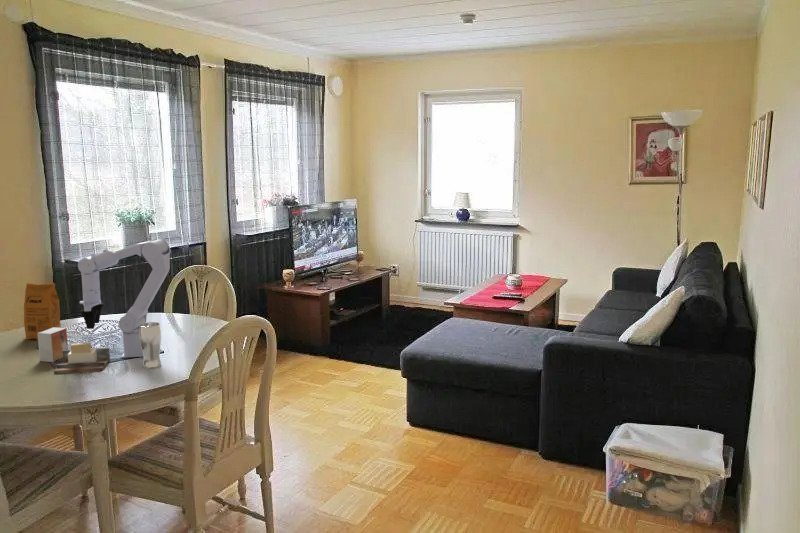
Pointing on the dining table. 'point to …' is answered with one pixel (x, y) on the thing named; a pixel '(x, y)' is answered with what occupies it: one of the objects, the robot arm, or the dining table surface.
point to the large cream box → (82, 353)
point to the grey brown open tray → (99, 365)
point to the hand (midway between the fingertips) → (93, 325)
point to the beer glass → (150, 344)
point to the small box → (52, 344)
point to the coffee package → (40, 309)
